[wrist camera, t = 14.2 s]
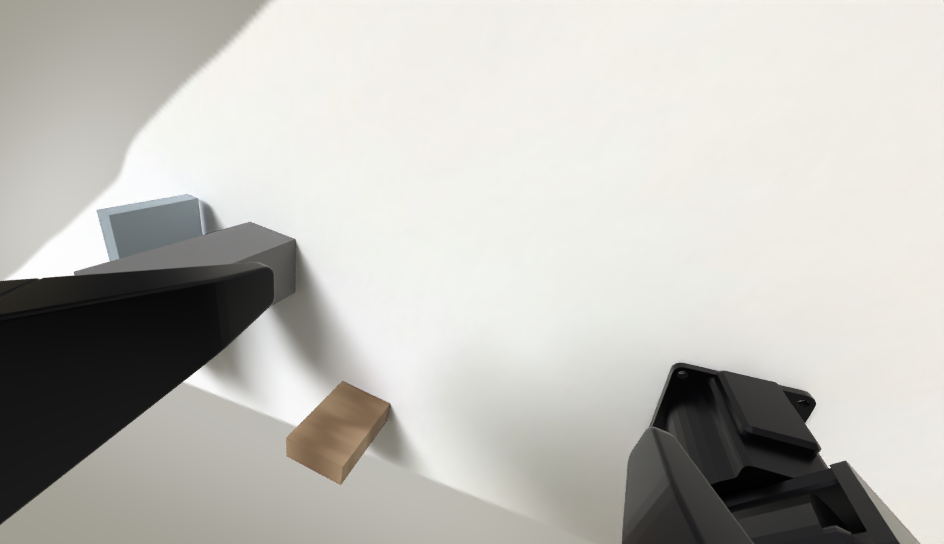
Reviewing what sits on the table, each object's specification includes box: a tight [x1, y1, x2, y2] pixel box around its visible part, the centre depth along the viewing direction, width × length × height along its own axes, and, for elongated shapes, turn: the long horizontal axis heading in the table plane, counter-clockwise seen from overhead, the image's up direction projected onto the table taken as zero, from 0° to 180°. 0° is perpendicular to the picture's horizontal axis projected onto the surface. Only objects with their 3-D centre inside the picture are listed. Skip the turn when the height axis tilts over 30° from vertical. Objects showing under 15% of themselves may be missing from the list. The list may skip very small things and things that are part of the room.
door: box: [97, 194, 202, 261], centre depth 27 cm, size 14×3×6 cm, turn 166°
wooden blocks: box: [286, 381, 390, 485], centre depth 29 cm, size 23×2×6 cm, turn 76°
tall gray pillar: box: [74, 222, 295, 305], centre depth 22 cm, size 4×4×10 cm
